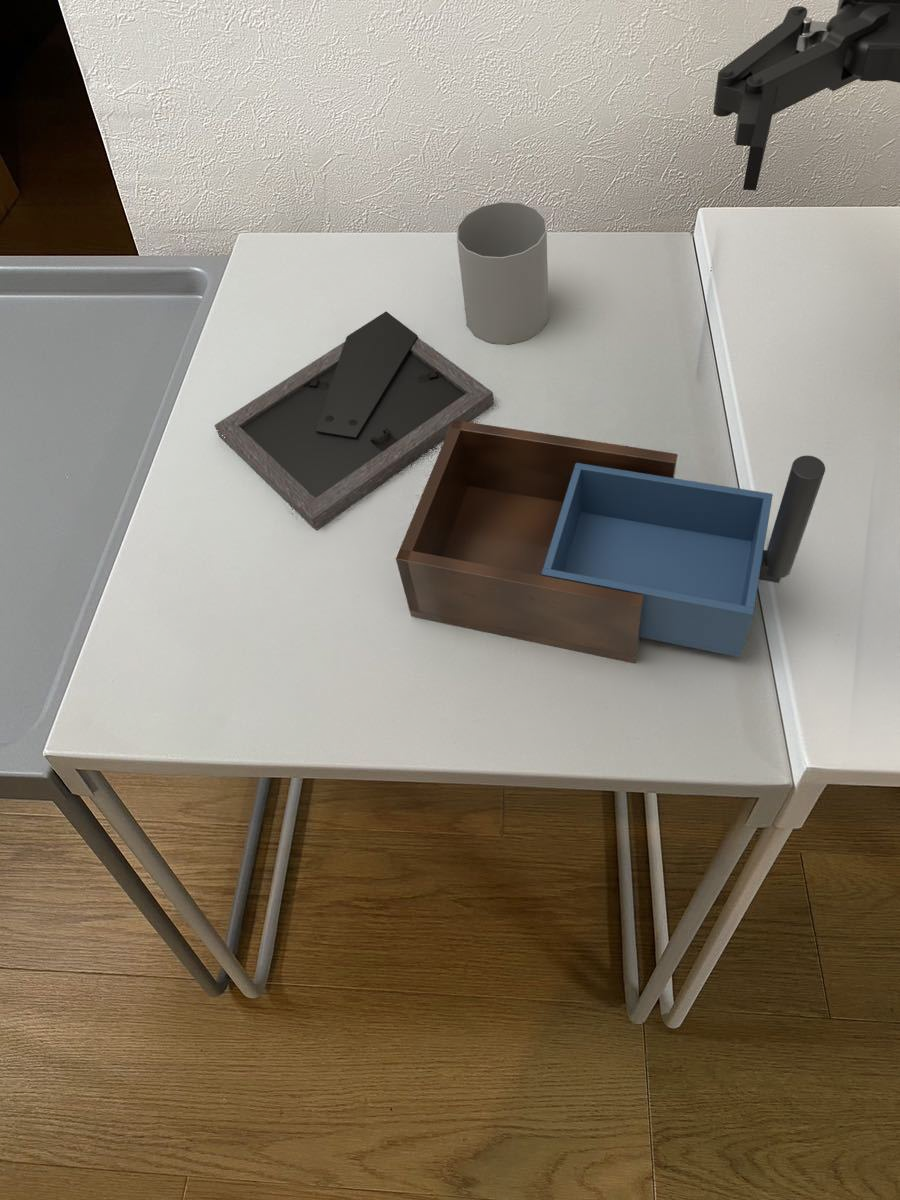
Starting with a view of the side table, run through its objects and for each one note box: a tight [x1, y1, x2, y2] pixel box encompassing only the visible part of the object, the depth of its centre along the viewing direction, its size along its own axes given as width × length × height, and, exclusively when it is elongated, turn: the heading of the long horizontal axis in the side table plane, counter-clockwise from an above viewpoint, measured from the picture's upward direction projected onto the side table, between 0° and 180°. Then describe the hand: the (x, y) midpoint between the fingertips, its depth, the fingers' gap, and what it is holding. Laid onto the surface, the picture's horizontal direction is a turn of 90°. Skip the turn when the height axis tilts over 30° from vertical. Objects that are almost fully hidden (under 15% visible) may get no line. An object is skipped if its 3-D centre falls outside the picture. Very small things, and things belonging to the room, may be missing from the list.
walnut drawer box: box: [395, 420, 678, 664], centre depth 73 cm, size 18×14×8 cm
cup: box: [456, 201, 550, 346], centre depth 90 cm, size 8×8×10 cm
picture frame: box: [213, 310, 495, 531], centre depth 87 cm, size 16×2×21 cm
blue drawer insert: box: [541, 455, 826, 658], centre depth 67 cm, size 17×11×15 cm, turn 73°
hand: (877, 178), depth 52 cm, fingers open, 13 cm apart
